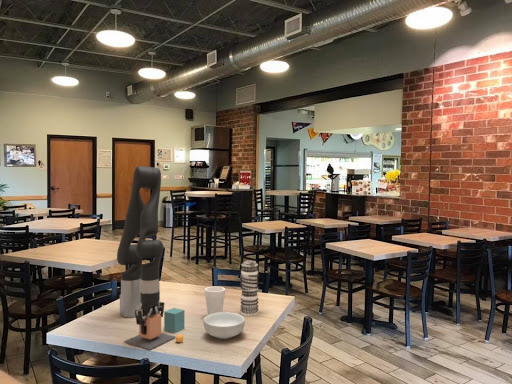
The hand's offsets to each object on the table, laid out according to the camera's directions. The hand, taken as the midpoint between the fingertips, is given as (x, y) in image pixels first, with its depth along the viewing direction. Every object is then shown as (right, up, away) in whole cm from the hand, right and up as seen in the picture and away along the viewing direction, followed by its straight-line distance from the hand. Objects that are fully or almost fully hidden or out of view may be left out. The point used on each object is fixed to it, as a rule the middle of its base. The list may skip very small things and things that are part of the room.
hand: (150, 331), depth 164 cm
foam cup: (+23, -3, +28) cm, 37 cm away
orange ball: (+12, -4, -1) cm, 13 cm away
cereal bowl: (+29, -4, +6) cm, 30 cm away
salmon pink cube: (0, -2, 0) cm, 2 cm away
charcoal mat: (0, -4, 0) cm, 4 cm away
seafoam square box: (+7, -3, +12) cm, 14 cm away
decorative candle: (+39, -3, +34) cm, 52 cm away
